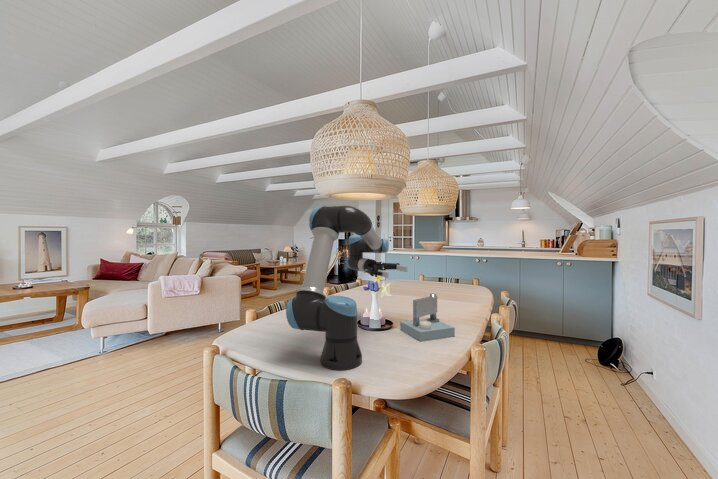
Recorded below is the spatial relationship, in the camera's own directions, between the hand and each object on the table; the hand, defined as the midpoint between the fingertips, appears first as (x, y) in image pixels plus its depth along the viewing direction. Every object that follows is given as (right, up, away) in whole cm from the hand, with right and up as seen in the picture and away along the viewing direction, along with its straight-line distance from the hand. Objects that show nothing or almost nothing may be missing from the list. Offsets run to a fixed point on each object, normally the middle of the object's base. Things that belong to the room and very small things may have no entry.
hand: (397, 272), depth 151 cm
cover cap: (+11, -24, -11) cm, 29 cm away
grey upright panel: (+13, -24, -3) cm, 27 cm away
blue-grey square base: (+13, -28, -5) cm, 31 cm away
